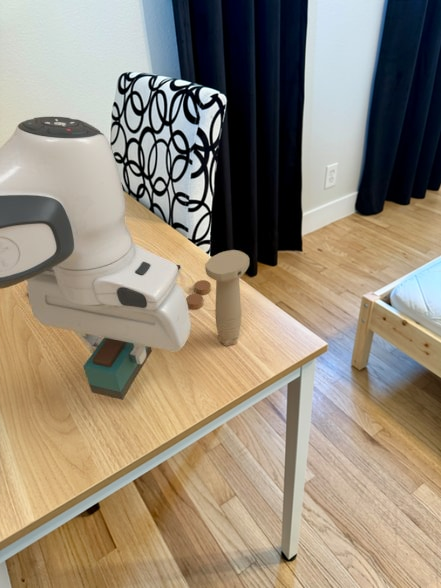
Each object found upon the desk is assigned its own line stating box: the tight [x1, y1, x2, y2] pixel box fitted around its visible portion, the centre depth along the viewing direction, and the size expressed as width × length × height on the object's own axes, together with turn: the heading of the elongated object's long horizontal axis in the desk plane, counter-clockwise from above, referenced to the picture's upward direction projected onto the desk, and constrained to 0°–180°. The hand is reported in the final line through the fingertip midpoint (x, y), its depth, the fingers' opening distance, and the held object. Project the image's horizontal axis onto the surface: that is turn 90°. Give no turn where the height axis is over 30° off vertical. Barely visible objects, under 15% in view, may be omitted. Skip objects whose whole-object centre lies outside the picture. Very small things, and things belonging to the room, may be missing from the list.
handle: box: [204, 249, 250, 347], centre depth 64 cm, size 5×6×15 cm
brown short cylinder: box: [186, 293, 204, 310], centre depth 76 cm, size 3×3×1 cm
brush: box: [82, 337, 153, 401], centre depth 57 cm, size 4×9×6 cm, turn 163°
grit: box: [193, 279, 212, 296], centre depth 79 cm, size 3×3×1 cm
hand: (119, 355), depth 56 cm, fingers closed on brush, 4 cm apart
